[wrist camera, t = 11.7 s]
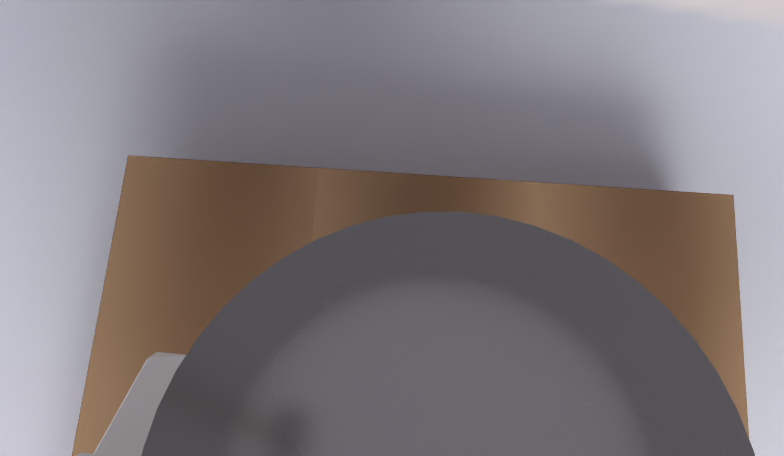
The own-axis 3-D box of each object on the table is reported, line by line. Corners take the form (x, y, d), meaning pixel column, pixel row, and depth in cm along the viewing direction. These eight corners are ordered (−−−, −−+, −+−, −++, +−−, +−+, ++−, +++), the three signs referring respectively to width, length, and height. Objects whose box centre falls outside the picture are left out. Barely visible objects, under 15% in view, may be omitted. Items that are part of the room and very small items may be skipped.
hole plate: (85, 692, 16) (16, 753, 13) (169, 195, 19) (128, 155, 16) (703, 745, 15) (773, 821, 13) (681, 230, 19) (733, 195, 16)
